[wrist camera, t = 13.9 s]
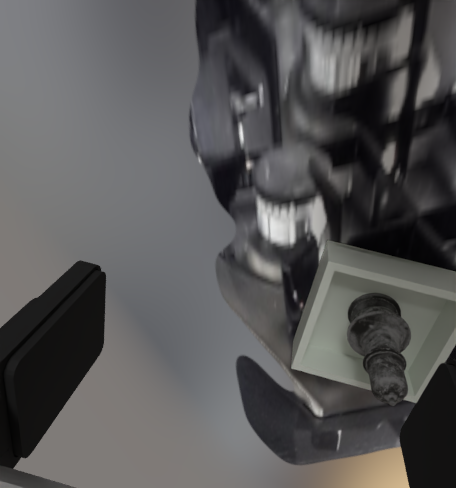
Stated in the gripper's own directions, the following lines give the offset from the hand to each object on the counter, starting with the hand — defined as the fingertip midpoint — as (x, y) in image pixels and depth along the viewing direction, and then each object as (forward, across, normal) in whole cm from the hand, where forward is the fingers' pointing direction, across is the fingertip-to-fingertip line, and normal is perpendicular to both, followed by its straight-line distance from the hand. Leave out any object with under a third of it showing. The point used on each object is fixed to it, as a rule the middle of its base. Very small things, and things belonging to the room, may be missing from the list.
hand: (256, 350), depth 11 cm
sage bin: (+28, -12, +16) cm, 35 cm away
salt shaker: (+28, -12, +16) cm, 34 cm away
